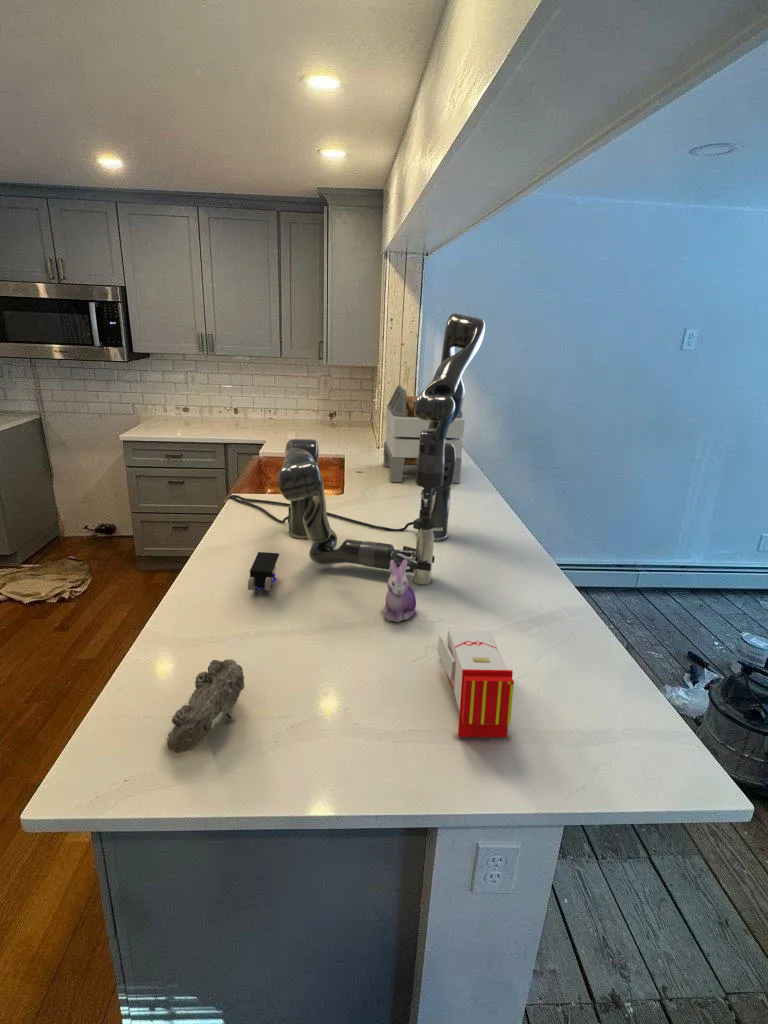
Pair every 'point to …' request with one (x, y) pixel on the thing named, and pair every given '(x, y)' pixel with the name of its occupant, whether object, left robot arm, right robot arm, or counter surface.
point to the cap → (432, 523)
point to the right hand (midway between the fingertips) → (426, 526)
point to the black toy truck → (263, 572)
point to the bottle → (424, 555)
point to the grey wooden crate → (413, 435)
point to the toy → (478, 682)
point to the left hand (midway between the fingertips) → (432, 563)
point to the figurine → (399, 594)
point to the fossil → (206, 705)
